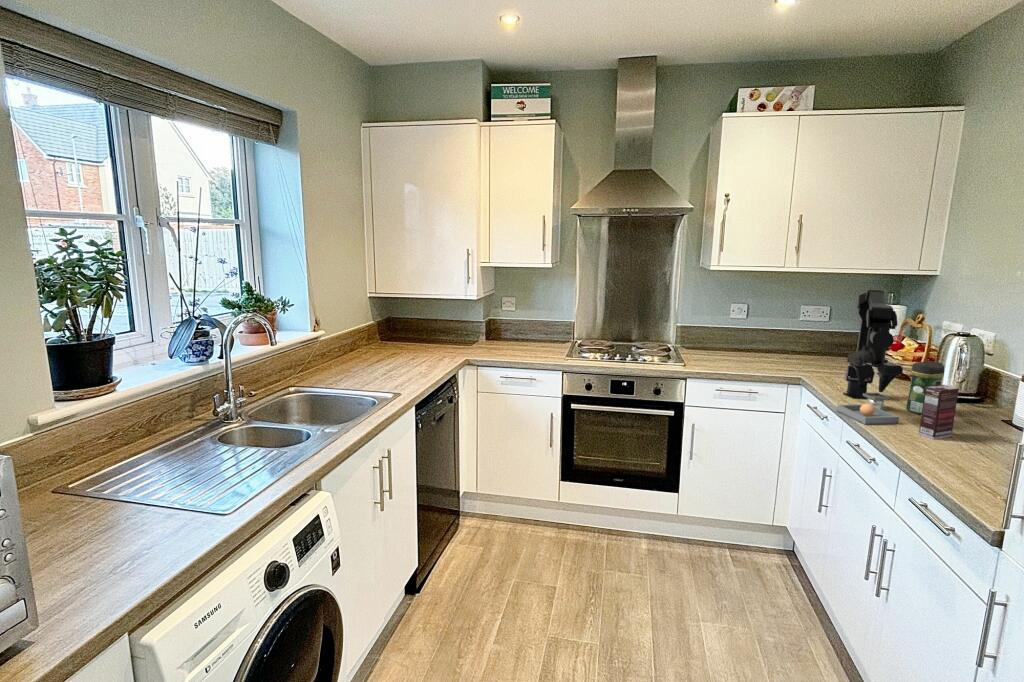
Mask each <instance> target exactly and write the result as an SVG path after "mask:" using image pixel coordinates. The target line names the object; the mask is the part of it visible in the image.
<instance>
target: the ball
mask: <svg viewBox="0 0 1024 682" xmlns="http://www.w3.org/2000/svg"><path fill="white" fill-rule="evenodd" d="M861 405H862V406H861V407H860V412H861V414H862V415H864V416H872V415H873V414H874V413H875V408H874V406H873V405H871V404H867V403H862V404H861Z"/></svg>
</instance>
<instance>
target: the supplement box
mask: <svg viewBox="0 0 1024 682" xmlns="http://www.w3.org/2000/svg"><path fill="white" fill-rule="evenodd" d="M959 391H960V390H959V387H956V386H952V385H947V384H941V385H939V386H930V387H926V389H925V396H924V402H923V409H922V414H921V417H920V423H919V431H918V435H919V436H921V435H922V437H923V438H924V437H925V438H928V439H931V440H937V439H944V438H949V437H950V438H951V437H952V435H953V429H954V422H955V415H956V409H957V403H958V395H959Z"/></svg>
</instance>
